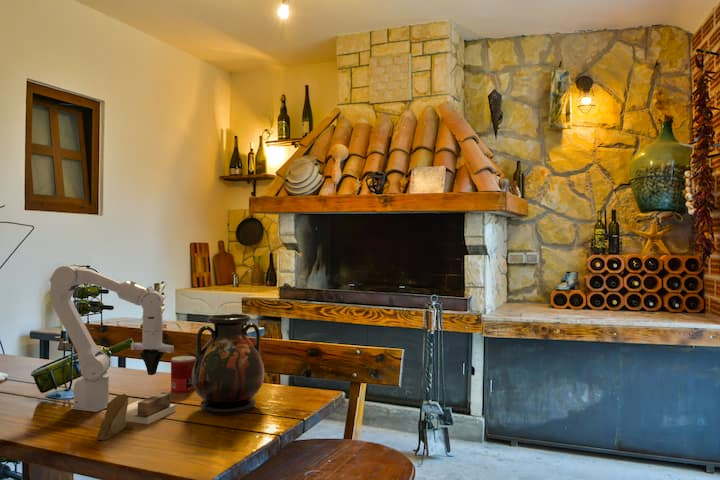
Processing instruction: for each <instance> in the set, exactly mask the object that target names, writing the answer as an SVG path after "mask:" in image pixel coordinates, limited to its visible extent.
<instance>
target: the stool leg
mask: <svg viewBox="0 0 720 480" xmlns="http://www.w3.org/2000/svg"><path fill="white" fill-rule="evenodd" d="M171 392H172V391H171ZM171 392H170V391H162V392H160V393H157V394H155V395H152V396H150V397H147V398H145V399H143V400H141V401H140V402H138V415H140V416H148V415H151V414H153V413H155V412H157V411H159V410H161V409H163V408H165V407H167V406H169V405H171V404H172V403H171V397H172V395H171V394H172V393H171Z"/></svg>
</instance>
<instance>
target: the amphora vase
mask: <svg viewBox="0 0 720 480" xmlns="http://www.w3.org/2000/svg"><path fill="white" fill-rule="evenodd" d="M206 320H207V322H208V323H210V324H212V325H213V328H212V327H211V326H210V325H209V326H208V325H203V326H202V327H200V328H199V330H198V332H197V335H196V341H195V343H196V345H195V350H196V351H195V363H194V365H193V370H192V385H193V388H194V391H195V393H196V394H197V396H199V398H201V399H202V401H201V402H200V404H199V407H200V409H201V410H202V411H203V412H204V413H207V414H209V415H213V416H233V415H240V414H243V413H247V412H249V411H251V410H252V409H254V407H255V405H256V404H257V402H256V399H255V396H256V395H257V394H258V392H259V391H260V389H261V387H262V386H263V385H264V384H263V383H264V380H265V366H264V361H263V360H262V356H261V334H260V332H261V331H260V328H259V327H258V325H257V324H256V323H248V322H250V321H251V320H252V319H251V317H250V315H247V314H243V313H242V314H241V313H224V314H223V313H221V314H214V315H210V316H208V317H207V319H206ZM246 323H248V324H247V325H245V324H246ZM251 328H252V329H254V333H255V341H254V342H255V344H254V343H253V342H252V341H251V340H250V339H249V338H248V336H247V335H248V334H247V333H248V330H249V329H251ZM204 331H209V332H210V339H209V340H208V341H207V342H206V343H205V344H204V346H203V347H202V346H201V345H202V343H201V342H202V341H201V340H202V335H203V332H204Z"/></svg>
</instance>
